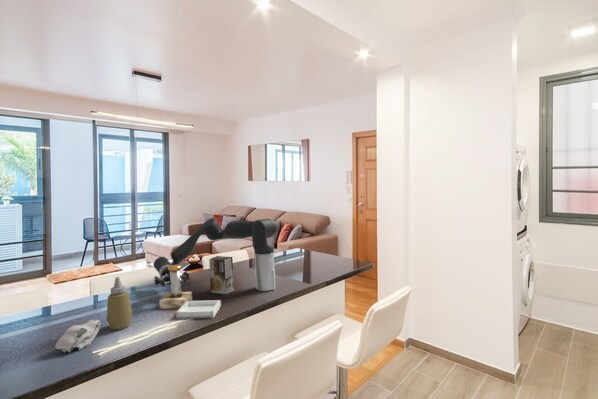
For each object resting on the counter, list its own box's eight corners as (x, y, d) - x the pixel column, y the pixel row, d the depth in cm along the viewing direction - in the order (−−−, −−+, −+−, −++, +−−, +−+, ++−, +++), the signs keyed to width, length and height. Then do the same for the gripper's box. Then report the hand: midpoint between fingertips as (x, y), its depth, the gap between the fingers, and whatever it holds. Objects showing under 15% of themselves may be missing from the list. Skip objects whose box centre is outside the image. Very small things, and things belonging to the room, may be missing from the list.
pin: (184, 301, 143) (183, 264, 142) (180, 305, 138) (178, 267, 137) (172, 301, 143) (171, 264, 142) (167, 306, 138) (166, 267, 137)
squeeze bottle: (137, 323, 121) (135, 275, 120) (119, 333, 113) (116, 281, 112) (120, 321, 124) (118, 273, 123) (101, 330, 116) (98, 279, 115)
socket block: (192, 299, 145) (191, 291, 145) (184, 307, 135) (183, 299, 135) (169, 300, 145) (169, 292, 145) (159, 308, 135) (159, 300, 135)
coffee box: (234, 290, 156) (233, 256, 155) (226, 294, 150) (224, 259, 150) (218, 288, 160) (217, 255, 159) (210, 292, 154) (208, 258, 153)
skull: (47, 345, 100) (76, 308, 108) (71, 357, 106) (97, 321, 113) (59, 349, 96) (88, 311, 104) (83, 361, 101) (110, 324, 109)
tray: (221, 306, 136) (220, 300, 136) (213, 317, 124) (213, 311, 124) (187, 306, 136) (187, 301, 136) (176, 318, 124) (176, 312, 124)
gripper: (184, 279, 158) (192, 287, 144) (152, 284, 151) (156, 294, 137) (184, 263, 158) (191, 270, 144) (151, 268, 151) (155, 276, 137)
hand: (174, 282), depth 141 cm, fingers open, 8 cm apart
